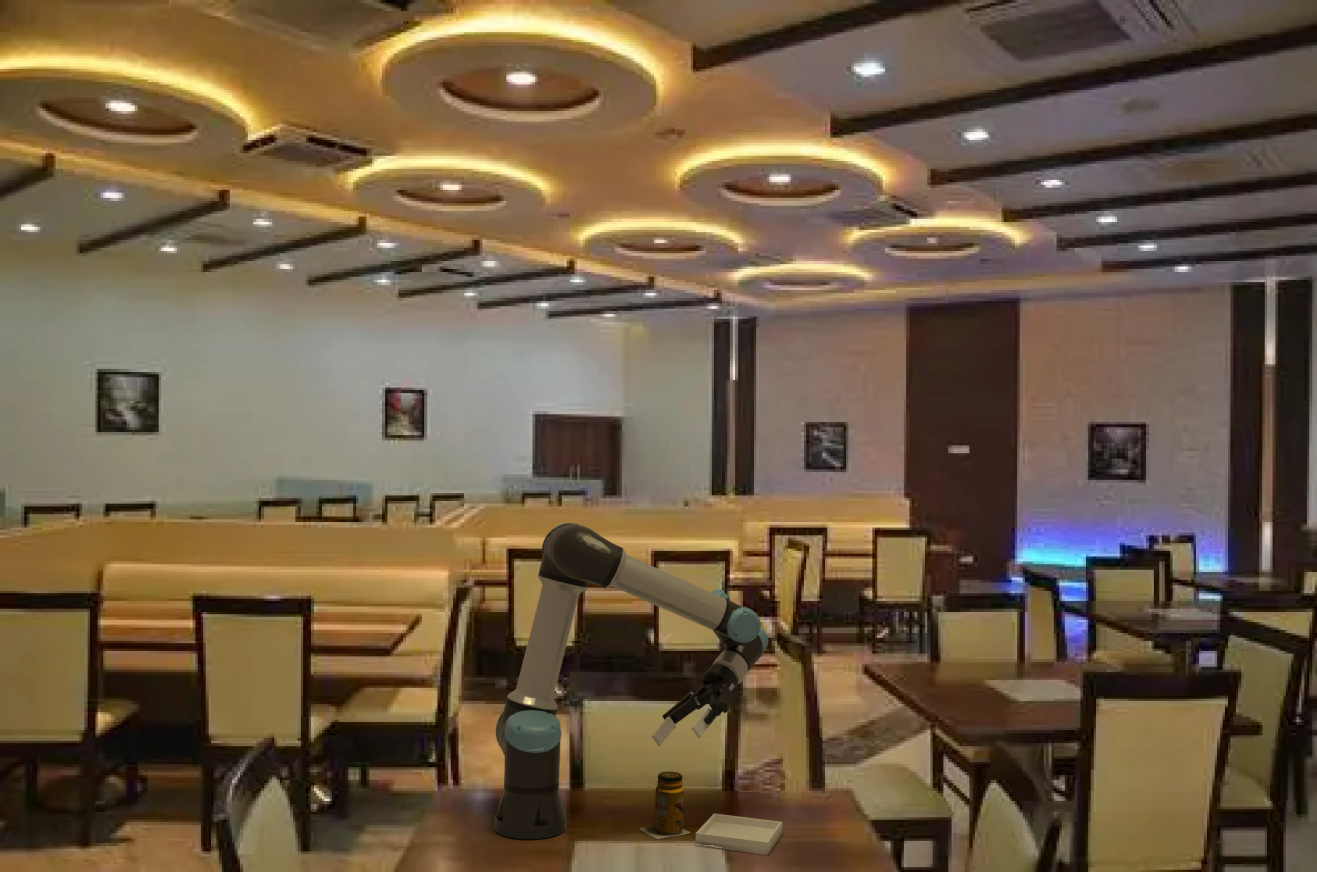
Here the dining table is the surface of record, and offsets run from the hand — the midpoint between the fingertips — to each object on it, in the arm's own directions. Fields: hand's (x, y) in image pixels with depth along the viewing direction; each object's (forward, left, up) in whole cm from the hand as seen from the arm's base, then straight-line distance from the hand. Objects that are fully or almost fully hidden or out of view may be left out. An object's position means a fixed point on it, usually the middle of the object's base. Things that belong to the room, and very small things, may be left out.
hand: (675, 737), depth 238 cm
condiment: (0, -5, -19) cm, 20 cm away
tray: (+16, -4, -19) cm, 25 cm away
